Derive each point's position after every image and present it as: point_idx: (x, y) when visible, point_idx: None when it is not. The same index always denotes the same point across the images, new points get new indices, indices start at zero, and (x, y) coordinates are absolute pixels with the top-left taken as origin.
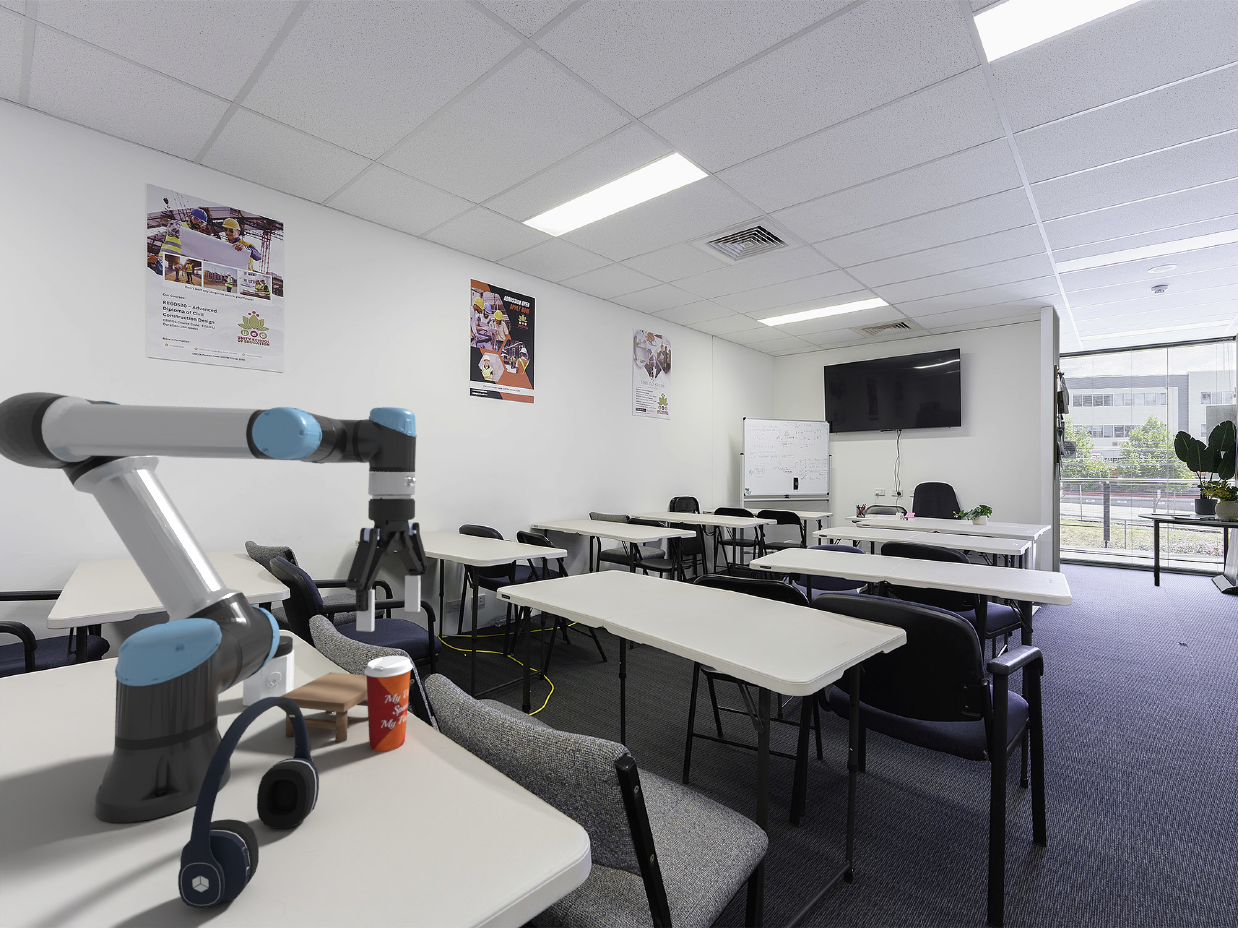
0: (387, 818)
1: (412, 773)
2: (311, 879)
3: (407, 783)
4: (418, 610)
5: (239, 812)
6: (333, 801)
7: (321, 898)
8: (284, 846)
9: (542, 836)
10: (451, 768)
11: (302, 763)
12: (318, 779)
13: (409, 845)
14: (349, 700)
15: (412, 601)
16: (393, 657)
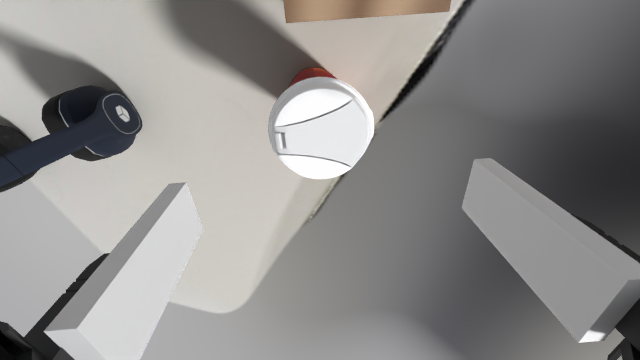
0: None
1: (260, 170)
2: (91, 194)
3: (241, 177)
4: (467, 210)
5: (88, 30)
6: (174, 128)
7: (86, 214)
8: None
9: (227, 294)
10: (285, 200)
11: (83, 151)
12: (121, 152)
13: None
14: (304, 21)
15: (490, 212)
16: (353, 127)
